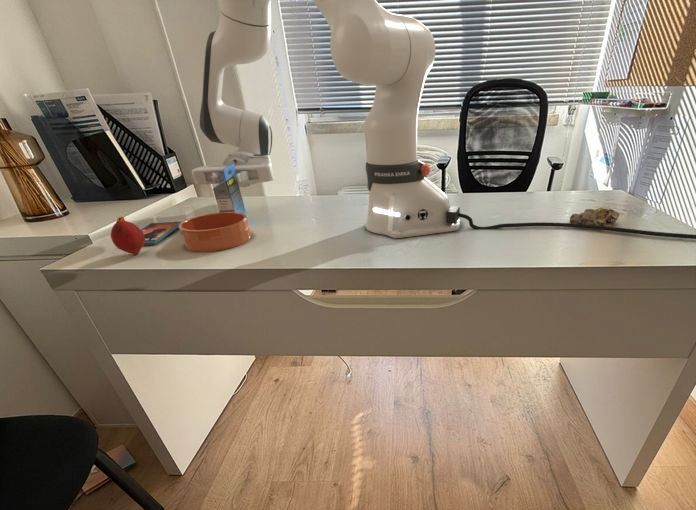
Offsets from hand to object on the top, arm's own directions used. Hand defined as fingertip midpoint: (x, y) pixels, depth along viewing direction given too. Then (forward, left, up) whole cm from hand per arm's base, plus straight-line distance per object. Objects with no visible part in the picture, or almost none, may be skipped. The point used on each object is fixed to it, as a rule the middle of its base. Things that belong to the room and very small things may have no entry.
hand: (225, 179), depth 96 cm
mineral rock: (-86, +19, -10) cm, 89 cm away
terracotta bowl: (0, +15, -10) cm, 18 cm away
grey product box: (0, +1, -9) cm, 9 cm away
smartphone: (+18, +8, -10) cm, 22 cm away
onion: (+16, +21, -10) cm, 29 cm away
